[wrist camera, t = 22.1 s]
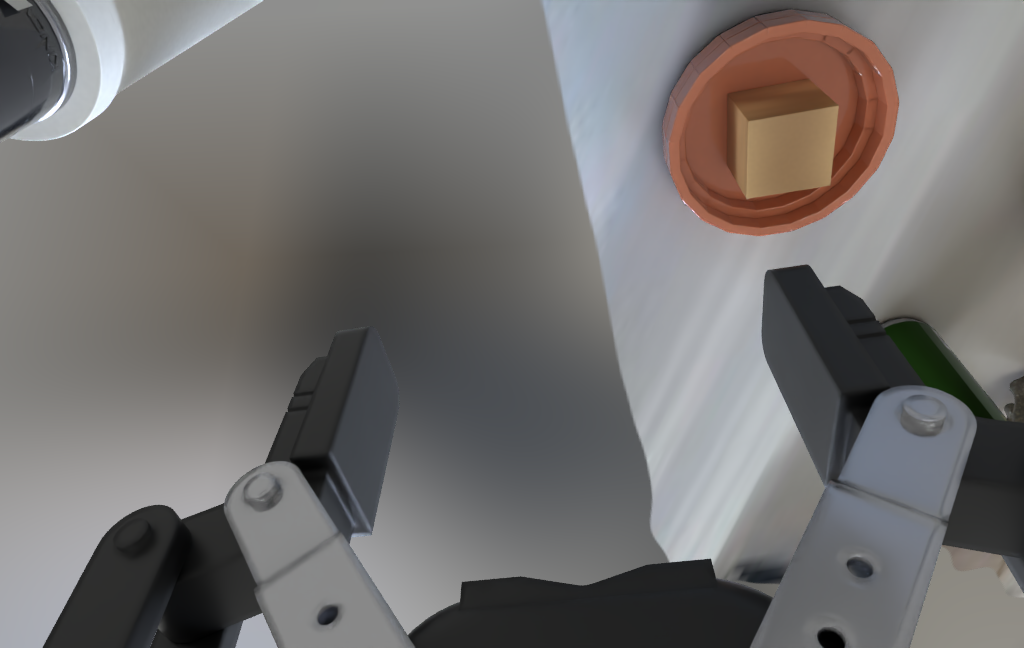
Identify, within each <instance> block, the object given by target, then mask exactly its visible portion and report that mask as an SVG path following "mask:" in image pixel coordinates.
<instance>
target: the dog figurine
mask: <svg viewBox="0 0 1024 648" xmlns="http://www.w3.org/2000/svg"><path fill="white" fill-rule="evenodd" d="M1010 390H1011V392H1012V393H1013V395H1014V399H1015V404H1013V403H1009V404H1007V405H1006V406H1005V407H1004V410H1005V413H1006V415H1007V420H1008V421H1012V422H1021V423H1024V377H1022V378H1020V379H1017V380H1014V381H1013V382H1012V383H1010Z"/></svg>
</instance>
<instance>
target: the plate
mask: <svg viewBox="0 0 1024 648" xmlns="http://www.w3.org/2000/svg"><path fill="white" fill-rule="evenodd" d="M805 79H810V80H811V81H812V82H813V83H814V84H815V85H816V86H818V87H819V88H820V89H821V90H822V91H823V92H824V93H825V94H827V95H828V96H829V97H830V98H831V99H832V100H833V101H834V102H835V103H837V104H838V105H839V109H838V118H837V127H836V137H835V146H834V156H833V165H832V175H831V184H830V186H824V187H818V188H812V189H805V190H799V191H793V192H787V193H780V194H774V195H768V196H761V197H755V198H749V199H746V197H745V195H744V194H743V192H742V190H741V189H740V187H739V185H738V184H737V182H736V180H735V178H734V177H733V175H732V173H731V172H730V170H729V168H728V166H727V94H728V93H733V92H738V91H744V90H749V89H755V88H761V87H766V86H772V85H777V84H783V83H788V82H794V81H799V80H805ZM898 107H899V98H898V93H897V88H896V83H895V78H894V73H893V70H892V67H891V66H890V65H889V63H888V62H887V60H886V59H885V57H884V56H883V55H882V53H881V52H880V50H879V49H878V47H877V46H876V45H875V43H873V41H871V40H869V39H868V38H866V37H865V36H863V35H861V34H860V33H858V32H857V31H855V30H853V29H852V28H850V27H848V26H846V25H845V24H843V23H841V22H840V21H838V20H836V19H835V18H833V17H831V16H829V15H828V14H827V15H826V14H823V13H816V12H809V11H802V10H795V9H793V10H791V9H789V10H784V11H779V12H774V13H769V14H764V15H758V16H755V17H752V18H750V19H748V20H747V21H745V22H743V23H741V24H739V25H737V26H735V27H733V28H731V29H729V30H727V31H726V32H724V33H722V34H720V36H719V35H718V36H717V37H716V38H715V39H714V40H713V41H712V42H710V43H709V44H708V45H707V46H706V47H705V48H704V49H703V50H702V51H701V52H700V53H699V54H698V55H697V56H696V57H694V58H693V59H692V60H691V62H690V63H689V64H688V66H687V67H686V69H685V71H684V72H683V74H682V76H681V77H680V79H679V81H678V82H677V84H676V85H675V87H674V89H673V90H672V92H671V94H670V98H669V102H668V105H667V109H666V113H665V116H664V120H663V124H662V136H663V154H664V159H665V162H666V164H667V166H668V169H669V171H670V174H671V176H672V178H673V181H674V183H675V185H676V188H677V190H678V192H679V195H680V197H681V199H682V200H683V202H684V203H685V204H686V205H687V206H688V207H689V208H690V209H691V210H692V211H693V212H694V213H695V214H696V215H697V216H698V217H699V218H700V219H701V220H703V221H705V222H707V223H709V224H711V225H713V226H716V227H718V228H720V229H722V230H724V231H726V232H729V233H737V234H745V235H753V236H764V235H771V234H777V233H784V232H791V231H794V230H796V229H799V228H801V227H803V226H806V225H808V224H811V223H813V222H815V221H818V220H820V219H823V217H826V216H827V215H829V214H830V213H832V212H833V211H834V210H836V209H837V208H839V207H840V206H841V205H843V204H844V203H845V202H847V201H848V200H850V199H851V198H852V197H853V196H855V194H856V193H857V192H858V191H859V190H860V189H861V187H862V186H863V185H864V184H865V183H866V182H867V181H868V179H869V178H870V177H871V176H872V175H873V174H874V172H875V171H876V170H877V169H878V167H879V165H880V163H881V161H882V159H883V157H884V155H885V153H886V151H887V149H888V147H889V145H890V143H891V141H892V139H893V136H894V131H895V125H896V119H897V113H898Z"/></svg>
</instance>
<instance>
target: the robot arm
mask: <svg viewBox="0 0 1024 648" xmlns="http://www.w3.org/2000/svg"><path fill="white" fill-rule="evenodd" d="M76 79H77V61H76V54H75V50H74V46H73V43H72V40H71V37H70V35H69V32H68V30H67V28H66V26H65V24H64V22H63V20H62V18H61V16H60V15H59V13H58V11H57V10H56V8H55V7H54V5H53V4H52V3H51V1H50V0H0V142H2V141H4V140H6V139H7V138H9V137H11V136H13V135H15V134H16V133H18V132H20V131H21V130H23V129H25V128H26V127H28V126H30V125H32V124H35V123H38V122H40V121H42V120H44V119H46V118H48V117H49V116H51V115H53V114H54V113H56V112H57V111H59V110H60V109H61V108H62V107H63V106H64V105H65V104H66V103H67V102H68V100H69V99H70V97H71V95H72V93H73V91H74V88H75V84H76ZM762 344H763V350H764V354H765V358H766V360H767V363H768V365H769V367H770V369H771V372H772V374H773V376H774V378H775V380H776V382H777V385H778V387H779V389H780V391H781V393H782V395H783V398H784V400H785V402H786V404H787V406H788V408H789V411H790V413H791V415H792V417H793V419H794V421H795V423H796V426H797V428H798V430H799V432H800V434H801V436H802V439H803V441H804V443H805V445H806V447H807V449H808V452H809V454H810V456H811V458H812V460H813V462H814V464H815V467H816V469H817V471H818V473H819V475H820V477H821V480H822V482H823V484H824V486H825V490H824V492H823V494H822V497H821V499H820V501H819V503H818V505H817V507H816V509H815V511H814V513H813V516H812V518H811V520H810V522H809V524H808V526H807V528H806V530H805V532H804V534H803V537H802V539H801V541H800V543H799V545H798V547H797V549H796V551H795V553H794V555H793V558H792V560H791V562H790V564H789V566H788V568H787V570H786V572H785V574H784V577H783V579H782V581H781V583H780V585H779V587H778V589H777V591H776V593H775V596H774V598H772V597H770V596H768V595H766V594H765V593H763V592H761V591H759V590H756V589H753V588H751V587H748V586H746V585H743V584H739V583H736V582H732V581H728V580H723V579H717V578H716V577H715V573H714V569H713V565H712V561H711V559H703V560H693V561H682V562H671V563H661V564H651V565H645V566H643V567H639V568H637V569H634V570H631V571H628V572H625V573H622V574H619V575H616V576H613V577H611V578H608V579H605V580H602V581H599V582H596V583H593V584H590V585H584V586H579V585H572V584H566V583H559V582H553V581H546V580H540V579H533V578H527V577H511V578H500V579H490V580H479V581H468V582H462V587H461V599H460V602H459V603H456V604H453V605H451V606H449V607H447V608H445V609H443V610H441V611H439V612H437V613H436V614H434V615H432V616H431V617H429V618H428V619H426V620H425V621H424V622H422V623H421V624H420V625H419V626H417V627H416V628H415V629H414V630H413V631H412V632H411V633H410V634H409V635H407V634H406V632H405V631H404V629H403V627H402V626H401V625H400V623H399V621H398V620H397V618H396V617H395V615H394V614H393V612H392V610H391V609H390V607H389V606H388V604H387V603H386V601H385V600H384V598H383V597H382V595H381V593H380V592H379V590H378V589H377V587H376V586H375V584H374V582H373V581H372V579H371V578H370V576H369V575H368V573H367V572H366V570H365V569H364V567H363V565H362V564H361V562H360V561H359V559H358V557H357V556H356V554H355V553H354V551H353V550H352V548H351V547H350V545H349V544H350V540H351V537H358V536H369V535H372V531H373V526H374V521H375V516H376V512H377V507H378V503H379V498H380V494H381V489H382V484H383V480H384V475H385V470H386V466H387V461H388V456H389V452H390V447H391V443H392V438H393V433H394V429H395V424H396V420H397V415H398V410H399V389H398V384H397V381H396V378H395V375H394V373H393V370H392V367H391V365H390V362H389V360H388V357H387V355H386V352H385V349H384V347H383V344H382V342H381V339H380V337H379V334H378V332H377V330H376V329H375V328H374V327H364V328H357V329H350V330H343V331H338V332H337V333H336V334H335V337H334V339H333V342H332V345H331V347H330V350H329V353H328V356H326V357H319V358H316V359H315V361H314V362H313V363H312V364H311V365H310V366H309V367H308V368H307V369H306V370H305V371H304V373H303V374H302V375H301V377H300V379H299V382H298V384H297V386H296V389H295V391H294V397H292V399H291V401H290V403H289V406H288V412H286V414H285V416H284V418H283V421H282V423H281V425H280V428H279V430H278V433H277V435H276V438H275V440H274V443H273V445H272V447H271V450H270V452H269V455H268V458H267V460H266V462H265V464H263V465H260V466H258V467H256V468H254V469H252V470H251V471H249V472H247V473H246V474H245V475H243V476H242V477H241V478H240V479H239V480H238V481H237V482H236V483H235V484H234V485H233V487H232V488H231V489H230V491H229V492H228V494H227V496H226V499H225V503H223V504H221V505H218V506H216V507H213V508H211V509H208V510H206V511H203V512H200V513H197V514H195V515H192V516H190V517H187V518H184V519H182V520H181V519H180V518H179V516H178V515H177V514H176V513H175V511H174V510H173V509H171V508H170V507H168V506H165V505H153V506H148V507H144V508H142V509H139V510H137V511H135V512H132V513H131V514H129V515H127V516H126V517H124V518H123V519H121V520H120V521H119V522H117V523H116V524H115V525H114V526H113V527H112V528H111V529H110V530H109V531H108V532H107V533H106V534H105V535H104V537H103V538H102V539H101V541H100V543H99V544H98V546H97V548H96V549H95V551H94V553H93V555H92V557H91V559H90V561H89V563H88V564H87V566H86V568H85V570H84V572H83V574H82V575H81V577H80V579H79V581H78V583H77V585H76V587H75V589H74V590H73V592H72V594H71V596H70V598H69V600H68V601H67V604H66V605H65V607H64V609H63V611H62V613H61V614H60V616H59V618H58V620H57V622H56V624H55V626H54V627H53V629H52V631H51V633H50V635H49V637H48V639H47V640H46V642H45V644H44V646H43V648H235V646H236V643H237V640H238V636H239V633H240V630H241V626H242V623H243V620H246V619H248V618H251V617H253V616H256V615H258V614H261V613H263V615H264V617H265V619H266V622H267V624H268V626H269V628H270V630H271V633H272V635H273V638H274V640H275V642H276V644H277V647H278V648H910V645H911V642H912V638H913V635H914V632H915V629H916V626H917V622H918V619H919V616H920V613H921V610H922V606H923V603H924V600H925V597H926V593H927V590H928V587H929V584H930V581H931V577H932V574H933V571H934V568H935V565H936V561H937V558H938V555H939V552H940V548H941V545H947V546H953V547H959V548H964V549H970V550H976V551H982V552H987V553H993V554H999V555H1002V557H1003V559H1004V560H1005V562H1006V564H1007V566H1008V567H1009V569H1010V571H1011V572H1012V574H1013V576H1014V577H1015V579H1016V581H1017V583H1018V584H1019V586H1020V588H1021V589H1022V591H1023V593H1024V423H1021V422H1012V421H1003V420H994V419H987V418H982V417H977V416H974V414H973V413H972V411H971V410H970V409H969V408H968V407H967V406H966V405H965V404H964V403H963V402H962V401H960V400H959V399H957V398H956V397H954V396H952V395H950V394H948V393H946V392H944V391H941V390H938V389H935V388H931V387H926V386H925V384H924V383H923V381H922V380H921V379H920V377H919V376H918V375H917V373H916V372H915V371H914V369H913V368H912V366H911V365H910V364H909V362H908V361H907V360H906V358H905V357H904V355H903V354H902V353H901V351H900V350H899V349H898V347H897V346H896V345H895V343H894V342H893V340H892V339H891V338H890V336H889V335H886V331H885V330H884V328H883V327H882V325H881V324H880V323H879V321H876V319H875V316H874V314H873V313H872V312H871V310H870V309H869V308H868V306H867V305H866V304H865V302H864V301H863V299H861V298H859V297H858V296H856V295H854V294H853V293H851V292H849V291H848V290H846V289H845V288H843V287H841V286H834V287H827V288H824V286H823V285H822V283H821V282H820V280H819V279H818V277H817V276H816V274H815V273H814V271H813V270H812V268H811V267H810V266H809V265H800V266H793V267H786V268H779V269H772V270H768V271H767V272H766V274H765V279H764V296H763V315H762ZM157 628H158V629H157ZM155 633H156V634H155ZM153 638H154V639H153ZM151 643H152V644H151Z"/></svg>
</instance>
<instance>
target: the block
mask: <svg viewBox="0 0 1024 648" xmlns="http://www.w3.org/2000/svg"><path fill="white" fill-rule="evenodd" d="M838 109H839V105H838V104H837V103H835V102H834V101H833V100H832V99H831V98H830V97H829V96H828V95H827V94H825V93H824V92H823V91H822V90H821V89H820V88H819V87H818V86H816V85H815V84H814V83H813V82H812V81H811V80H810V79H805V80H799V81H794V82H788V83H783V84H777V85H772V86H766V87H761V88H755V89H749V90H744V91H738V92H733V93H728V94H727V166H728V168H729V170H730V172H731V173H732V175H733V177H734V178H735V180H736V182H737V184H738V185H739V187H740V189H741V190H742V192H743V194H744V195H745V197H746V199H749V198H755V197H761V196H768V195H774V194H780V193H787V192H793V191H799V190H805V189H812V188H818V187H824V186H830V184H831V175H832V165H833V156H834V146H835V137H836V127H837V118H838Z"/></svg>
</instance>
